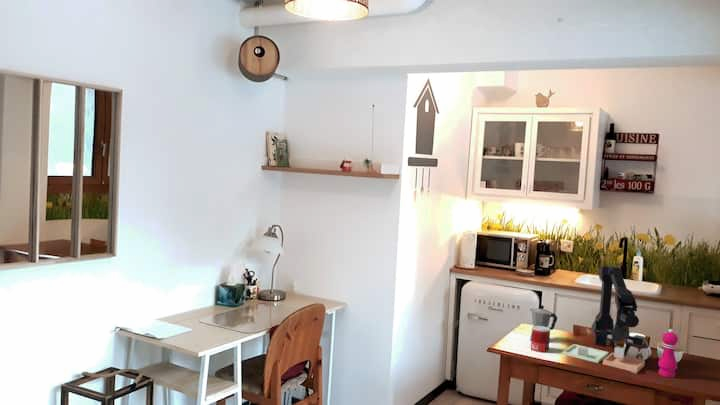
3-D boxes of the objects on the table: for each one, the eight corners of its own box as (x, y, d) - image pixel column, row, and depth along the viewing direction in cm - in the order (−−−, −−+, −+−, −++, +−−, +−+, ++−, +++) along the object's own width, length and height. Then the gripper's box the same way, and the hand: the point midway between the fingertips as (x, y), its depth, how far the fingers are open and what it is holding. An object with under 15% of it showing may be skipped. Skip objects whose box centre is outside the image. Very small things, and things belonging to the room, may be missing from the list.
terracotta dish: (611, 358, 275) (612, 352, 275) (644, 365, 266) (644, 360, 266) (602, 365, 264) (603, 359, 264) (636, 373, 255) (636, 368, 255)
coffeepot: (522, 338, 298) (525, 303, 296) (534, 336, 303) (536, 301, 302) (548, 347, 285) (551, 310, 284) (560, 344, 291) (563, 308, 290)
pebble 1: (616, 354, 271) (617, 345, 271) (625, 356, 269) (626, 347, 268) (613, 356, 268) (614, 347, 268) (623, 358, 265) (624, 349, 265)
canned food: (549, 354, 275) (551, 331, 274) (531, 352, 277) (533, 329, 276) (547, 349, 282) (549, 326, 282) (529, 347, 284) (531, 324, 283)
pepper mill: (653, 371, 259) (658, 326, 258) (669, 371, 260) (673, 326, 258) (663, 377, 252) (668, 331, 251) (679, 378, 253) (684, 331, 251)
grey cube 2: (578, 354, 276) (579, 345, 275) (587, 356, 274) (588, 347, 274) (577, 356, 272) (578, 348, 272) (586, 358, 270) (587, 349, 270)
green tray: (573, 347, 287) (574, 344, 287) (608, 355, 278) (608, 352, 277) (562, 355, 275) (562, 351, 275) (597, 364, 265) (598, 360, 265)
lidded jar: (679, 360, 277) (681, 340, 276) (684, 367, 267) (686, 347, 266) (654, 356, 280) (656, 337, 280) (657, 363, 270) (659, 343, 270)
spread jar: (623, 360, 272) (625, 335, 271) (622, 353, 283) (624, 329, 282) (652, 364, 268) (655, 339, 267) (649, 357, 279) (652, 333, 278)
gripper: (595, 320, 266) (593, 354, 268) (640, 329, 255) (637, 364, 256) (603, 315, 275) (600, 348, 276) (647, 324, 264) (643, 358, 265)
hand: (619, 355), depth 268 cm, fingers closed on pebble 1, 4 cm apart
